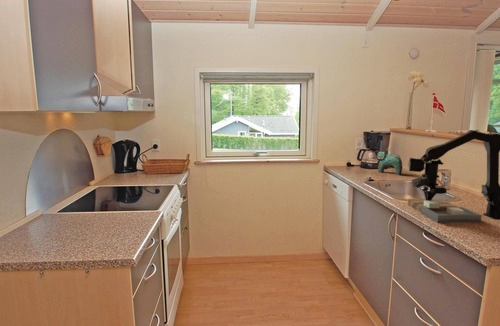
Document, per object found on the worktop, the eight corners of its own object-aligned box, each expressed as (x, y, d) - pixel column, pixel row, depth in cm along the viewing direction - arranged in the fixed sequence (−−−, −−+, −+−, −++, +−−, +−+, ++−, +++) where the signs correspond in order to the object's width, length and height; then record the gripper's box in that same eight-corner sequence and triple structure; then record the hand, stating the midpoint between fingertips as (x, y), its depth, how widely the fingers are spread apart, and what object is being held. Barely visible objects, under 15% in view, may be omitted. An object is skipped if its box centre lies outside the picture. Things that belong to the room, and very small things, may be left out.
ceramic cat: (375, 172, 261) (377, 148, 257) (379, 171, 265) (381, 147, 262) (399, 175, 246) (401, 150, 242) (403, 174, 250) (405, 149, 247)
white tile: (463, 215, 147) (464, 210, 146) (452, 215, 147) (452, 210, 147) (457, 212, 152) (457, 207, 151) (446, 212, 152) (447, 207, 152)
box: (480, 222, 142) (481, 215, 142) (437, 222, 142) (438, 215, 141) (460, 213, 155) (461, 206, 155) (421, 213, 154) (421, 206, 154)
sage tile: (439, 208, 153) (439, 203, 153) (429, 208, 153) (429, 203, 153) (433, 205, 158) (433, 200, 158) (423, 205, 158) (423, 200, 158)
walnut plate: (458, 213, 155) (459, 207, 155) (422, 213, 155) (423, 207, 154) (440, 204, 169) (441, 199, 168) (407, 205, 168) (408, 199, 168)
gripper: (405, 169, 166) (402, 197, 168) (425, 176, 147) (422, 208, 150) (426, 169, 166) (423, 197, 168) (449, 176, 147) (445, 208, 150)
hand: (427, 202), depth 159 cm, fingers closed
